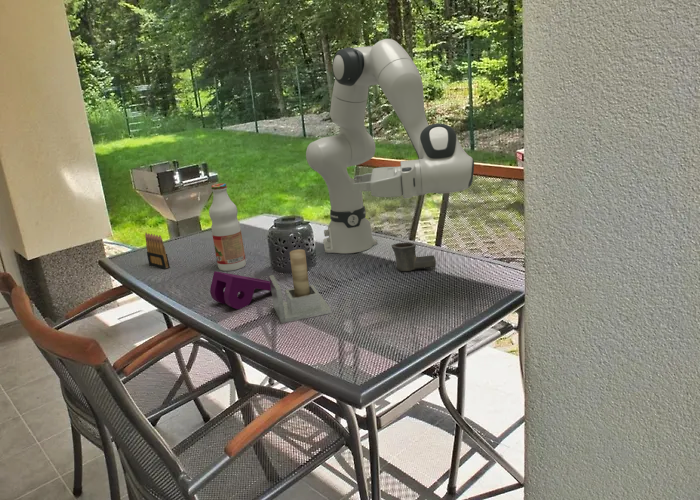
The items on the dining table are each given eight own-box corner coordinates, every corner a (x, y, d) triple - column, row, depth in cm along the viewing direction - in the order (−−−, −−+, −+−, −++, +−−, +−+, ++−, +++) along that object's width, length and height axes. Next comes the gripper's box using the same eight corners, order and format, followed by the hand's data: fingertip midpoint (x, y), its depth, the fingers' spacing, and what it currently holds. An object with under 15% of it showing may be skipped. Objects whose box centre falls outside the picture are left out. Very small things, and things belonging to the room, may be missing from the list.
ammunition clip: (149, 265, 213) (142, 232, 209) (153, 263, 214) (147, 231, 211) (165, 269, 206) (158, 236, 202) (170, 267, 207) (163, 234, 204)
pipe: (435, 272, 176) (433, 246, 173) (391, 273, 178) (389, 248, 176) (436, 265, 181) (434, 240, 179) (394, 266, 184) (392, 242, 182)
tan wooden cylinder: (294, 304, 159) (288, 251, 155) (309, 302, 160) (303, 248, 156) (297, 310, 155) (291, 255, 151) (312, 307, 156) (306, 252, 152)
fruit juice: (240, 271, 195) (226, 186, 187) (213, 271, 198) (198, 188, 190) (250, 261, 204) (237, 180, 196) (225, 262, 206) (211, 182, 198)
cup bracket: (273, 307, 162) (268, 275, 159) (320, 297, 165) (317, 266, 162) (281, 323, 151) (276, 290, 148) (331, 312, 154) (327, 280, 151)
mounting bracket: (259, 307, 179) (207, 300, 167) (265, 279, 179) (214, 271, 167) (278, 314, 173) (225, 307, 160) (284, 285, 173) (232, 276, 160)
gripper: (406, 159, 158) (354, 164, 159) (408, 172, 138) (349, 178, 140) (408, 183, 160) (356, 187, 161) (410, 199, 140) (352, 204, 141)
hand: (353, 183), depth 150 cm, fingers open, 8 cm apart
